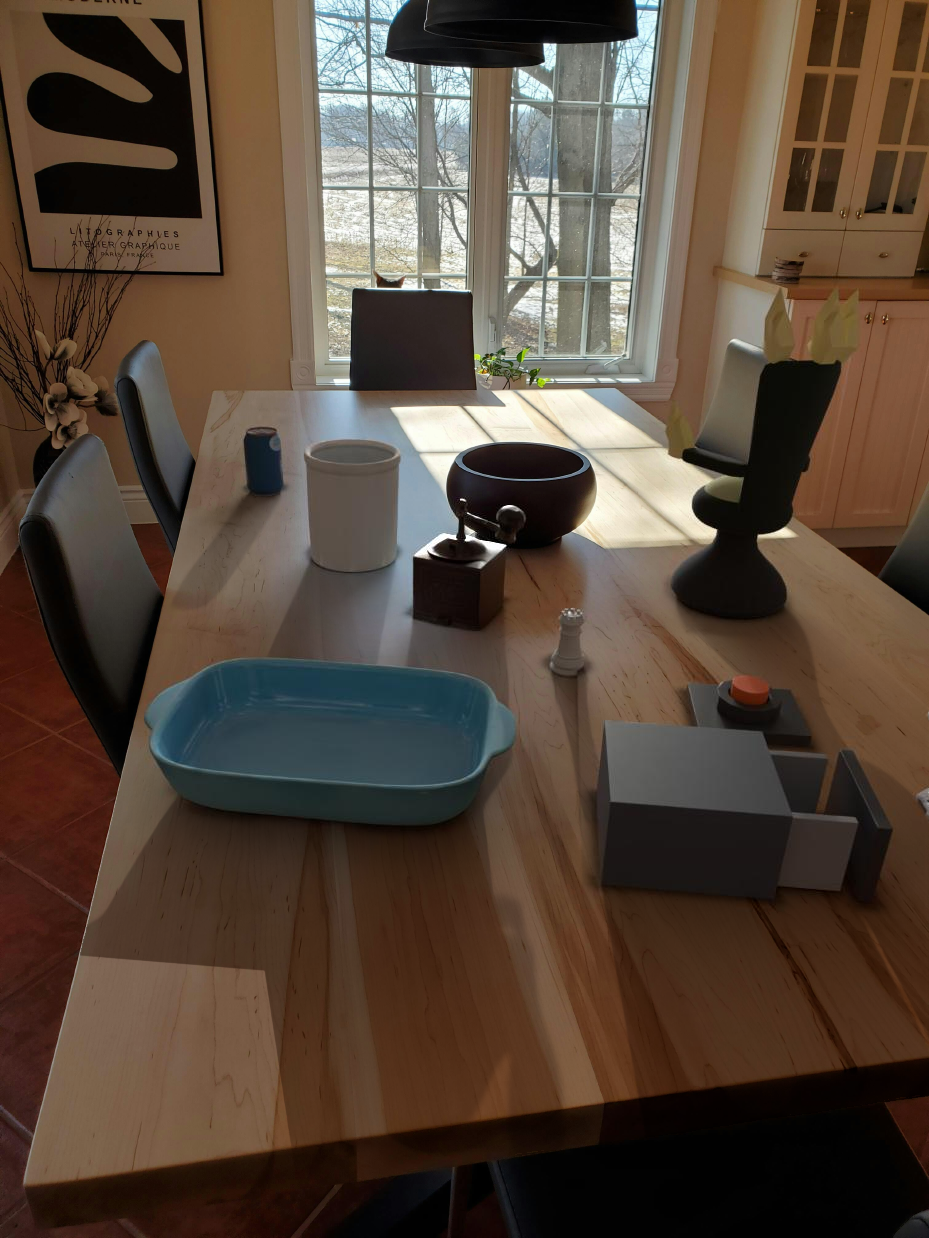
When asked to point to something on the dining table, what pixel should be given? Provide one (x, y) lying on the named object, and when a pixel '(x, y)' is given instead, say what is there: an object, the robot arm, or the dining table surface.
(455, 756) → the casserole dish
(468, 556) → the manual coffee grinder
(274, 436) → the soda can
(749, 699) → the button
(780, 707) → the button box
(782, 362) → the black plant vase
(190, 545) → the dining table surface
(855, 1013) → the dining table surface
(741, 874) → the cabinet
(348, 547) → the utensil holder
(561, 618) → the rook chess piece
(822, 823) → the drawer
